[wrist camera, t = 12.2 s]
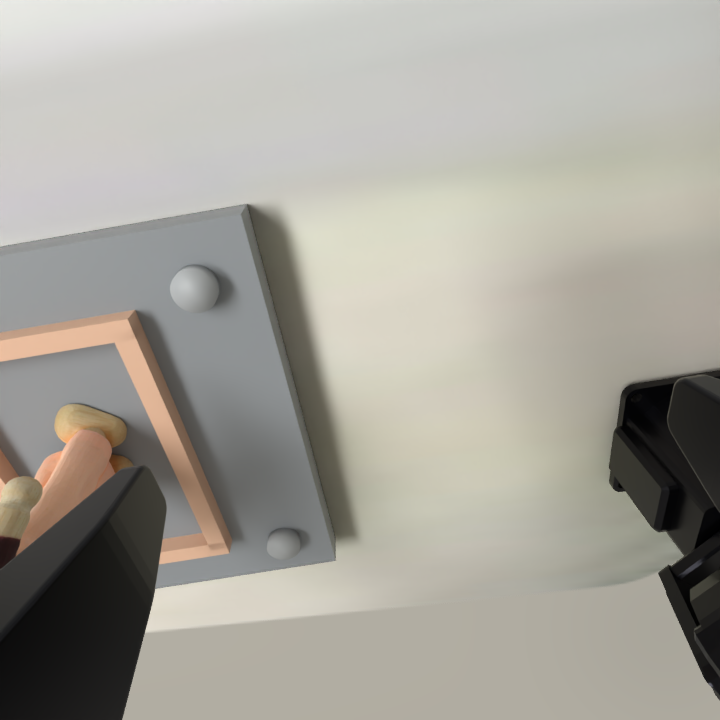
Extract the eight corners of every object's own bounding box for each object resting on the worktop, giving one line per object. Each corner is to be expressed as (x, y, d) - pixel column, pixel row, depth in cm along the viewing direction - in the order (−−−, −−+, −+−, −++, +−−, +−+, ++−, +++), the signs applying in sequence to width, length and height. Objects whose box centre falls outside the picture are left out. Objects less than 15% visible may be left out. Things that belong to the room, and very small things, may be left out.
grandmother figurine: (16, 386, 19) (-387, 794, 8) (115, 377, 19) (-157, 769, 8) (84, 523, 23) (-130, 924, 12) (167, 515, 23) (26, 906, 12)
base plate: (247, 204, 18) (237, 220, 16) (335, 537, 27) (336, 574, 25) (-230, 286, 18) (-297, 312, 16) (15, 587, 27) (-10, 627, 25)
